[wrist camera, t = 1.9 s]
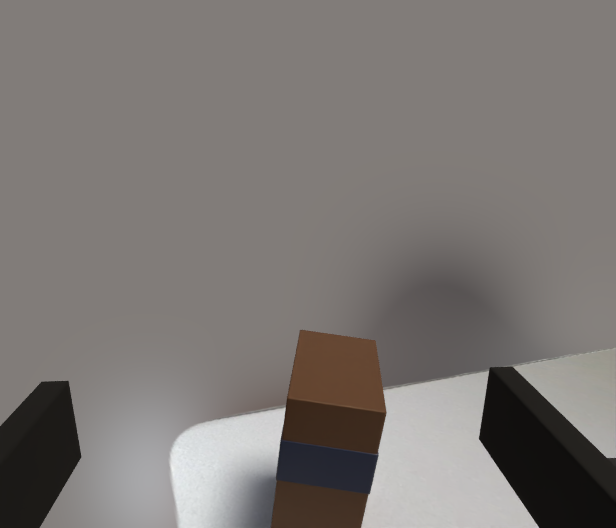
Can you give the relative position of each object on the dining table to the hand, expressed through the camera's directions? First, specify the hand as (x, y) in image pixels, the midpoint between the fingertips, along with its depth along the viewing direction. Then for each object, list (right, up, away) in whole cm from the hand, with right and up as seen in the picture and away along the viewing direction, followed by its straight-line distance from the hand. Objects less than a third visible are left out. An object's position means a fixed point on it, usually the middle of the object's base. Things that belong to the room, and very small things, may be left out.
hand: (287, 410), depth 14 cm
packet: (+1, -11, +12) cm, 16 cm away
